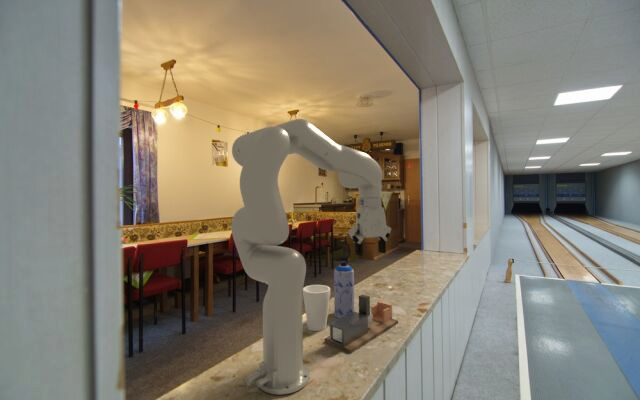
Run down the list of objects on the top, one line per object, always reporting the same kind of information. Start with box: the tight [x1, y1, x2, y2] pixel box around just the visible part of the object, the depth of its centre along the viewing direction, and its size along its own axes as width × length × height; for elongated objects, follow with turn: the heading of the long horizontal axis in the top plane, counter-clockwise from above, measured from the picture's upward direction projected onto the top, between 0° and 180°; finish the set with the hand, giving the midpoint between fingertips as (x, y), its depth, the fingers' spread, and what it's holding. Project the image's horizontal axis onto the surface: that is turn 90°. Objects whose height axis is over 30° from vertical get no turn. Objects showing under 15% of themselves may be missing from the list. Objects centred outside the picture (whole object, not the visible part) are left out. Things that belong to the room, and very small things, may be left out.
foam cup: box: [302, 284, 331, 332], centre depth 98 cm, size 10×9×13 cm
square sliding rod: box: [333, 294, 373, 342], centre depth 90 cm, size 16×4×10 cm, turn 136°
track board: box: [323, 318, 399, 354], centre depth 94 cm, size 27×10×1 cm, turn 136°
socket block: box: [370, 300, 393, 323], centre depth 102 cm, size 5×5×5 cm
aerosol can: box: [333, 260, 355, 319], centre depth 108 cm, size 8×8×20 cm
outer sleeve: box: [329, 311, 368, 347], centre depth 88 cm, size 12×5×5 cm, turn 136°
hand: (370, 253), depth 97 cm, fingers open, 9 cm apart
